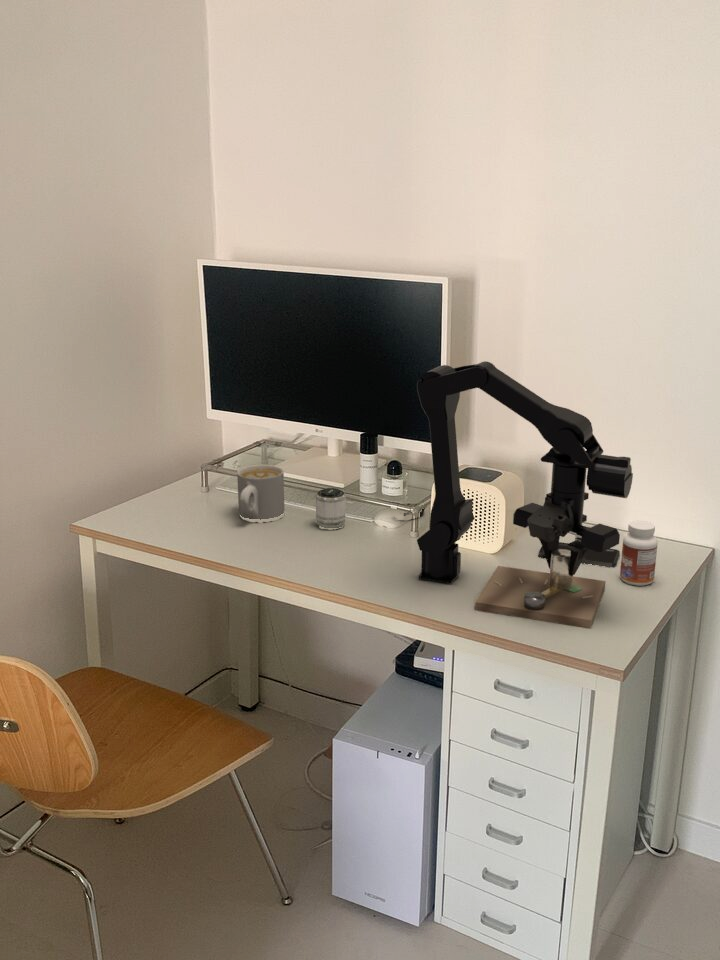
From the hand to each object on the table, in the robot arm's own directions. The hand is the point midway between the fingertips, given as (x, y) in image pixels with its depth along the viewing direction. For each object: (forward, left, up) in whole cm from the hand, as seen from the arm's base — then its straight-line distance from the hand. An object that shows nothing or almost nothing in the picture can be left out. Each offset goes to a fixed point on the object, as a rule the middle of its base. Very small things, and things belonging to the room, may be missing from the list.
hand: (561, 571), depth 180 cm
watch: (-38, +31, -6) cm, 49 cm away
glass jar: (-52, +20, -6) cm, 56 cm away
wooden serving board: (-3, -1, -5) cm, 6 cm away
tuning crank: (-1, -3, -4) cm, 5 cm away
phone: (0, +22, -6) cm, 22 cm away
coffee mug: (-69, +19, -6) cm, 72 cm away
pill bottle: (+12, +14, -6) cm, 19 cm away
